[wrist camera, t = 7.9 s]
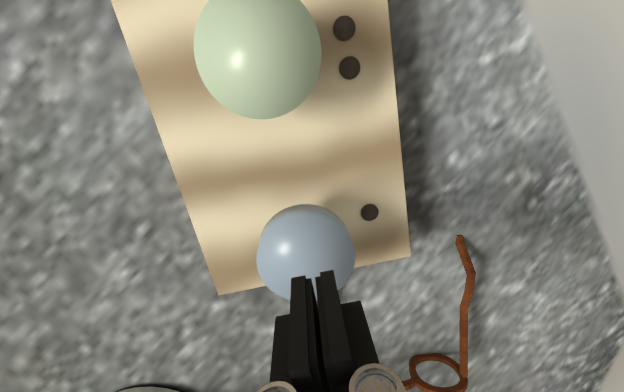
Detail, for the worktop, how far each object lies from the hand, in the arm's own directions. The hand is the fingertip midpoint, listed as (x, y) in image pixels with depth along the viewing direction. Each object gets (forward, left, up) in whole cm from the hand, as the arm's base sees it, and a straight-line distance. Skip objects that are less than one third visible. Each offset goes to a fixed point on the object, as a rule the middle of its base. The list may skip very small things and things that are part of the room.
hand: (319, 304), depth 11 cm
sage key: (+10, 0, -6) cm, 11 cm away
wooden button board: (+10, 0, -11) cm, 15 cm away
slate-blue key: (0, 0, -6) cm, 6 cm away
